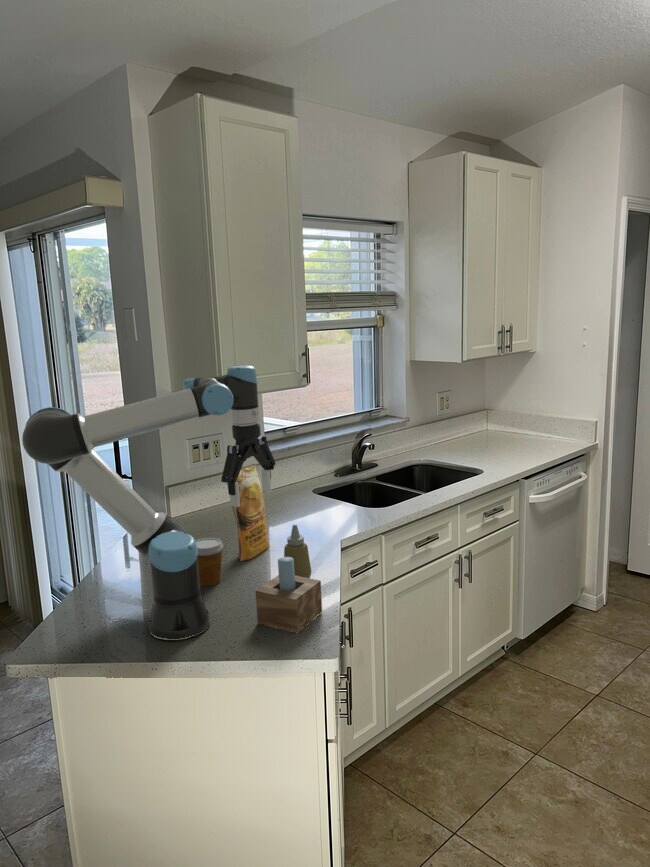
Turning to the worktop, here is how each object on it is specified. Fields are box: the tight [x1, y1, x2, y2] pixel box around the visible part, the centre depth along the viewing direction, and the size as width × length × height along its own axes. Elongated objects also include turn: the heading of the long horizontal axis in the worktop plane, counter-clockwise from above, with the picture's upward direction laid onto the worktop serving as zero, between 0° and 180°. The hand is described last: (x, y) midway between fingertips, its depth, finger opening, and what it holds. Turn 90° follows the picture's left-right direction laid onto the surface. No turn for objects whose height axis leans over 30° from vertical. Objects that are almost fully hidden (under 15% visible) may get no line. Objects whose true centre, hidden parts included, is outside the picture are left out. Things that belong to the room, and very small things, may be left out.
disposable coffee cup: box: [195, 537, 224, 587], centre depth 196 cm, size 10×10×12 cm
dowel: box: [277, 556, 296, 592], centre depth 171 cm, size 4×4×14 cm
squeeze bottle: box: [283, 524, 312, 579], centre depth 191 cm, size 8×8×18 cm
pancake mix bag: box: [231, 463, 270, 562], centre depth 216 cm, size 7×19×28 cm, turn 153°
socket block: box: [255, 574, 323, 634], centre depth 172 cm, size 12×12×9 cm
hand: (251, 498), depth 185 cm, fingers open, 13 cm apart
